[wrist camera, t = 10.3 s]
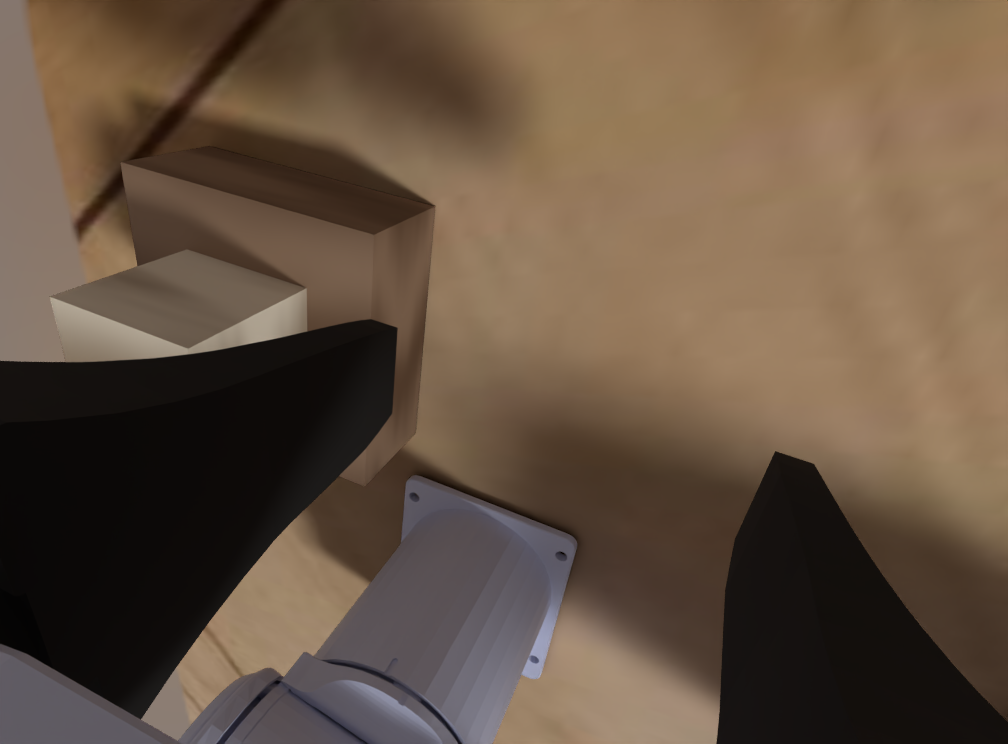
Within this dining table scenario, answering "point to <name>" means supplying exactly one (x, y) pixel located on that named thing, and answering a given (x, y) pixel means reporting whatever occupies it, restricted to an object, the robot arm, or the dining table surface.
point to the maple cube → (176, 310)
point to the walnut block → (299, 251)
